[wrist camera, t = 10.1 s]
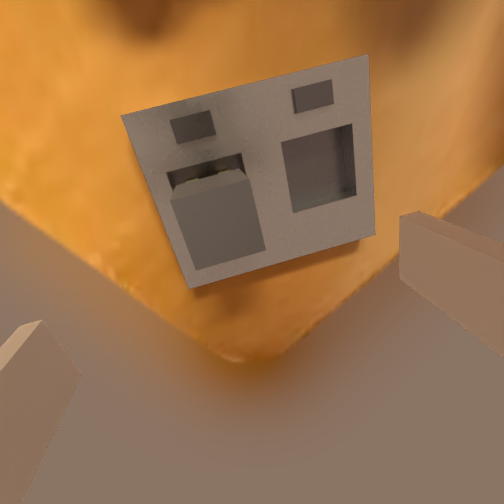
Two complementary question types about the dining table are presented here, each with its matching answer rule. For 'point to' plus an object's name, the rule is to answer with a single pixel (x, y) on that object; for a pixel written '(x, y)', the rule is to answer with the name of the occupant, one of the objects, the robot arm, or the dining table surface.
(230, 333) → the dining table surface
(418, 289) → the robot arm
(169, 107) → the socket
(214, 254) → the plug
